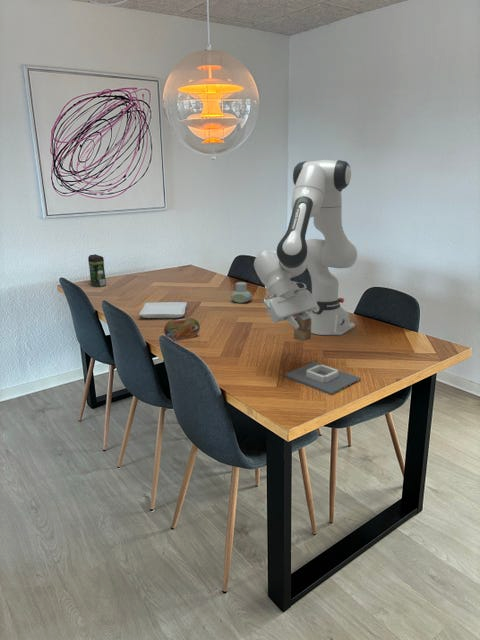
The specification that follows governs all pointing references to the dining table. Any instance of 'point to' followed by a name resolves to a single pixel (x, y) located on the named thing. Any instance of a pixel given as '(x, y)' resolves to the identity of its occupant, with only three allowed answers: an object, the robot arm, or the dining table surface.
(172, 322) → the tin
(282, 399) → the dining table surface
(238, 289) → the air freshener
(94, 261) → the coffee jar
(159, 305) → the salad plate
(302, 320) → the plug
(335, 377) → the end holder
